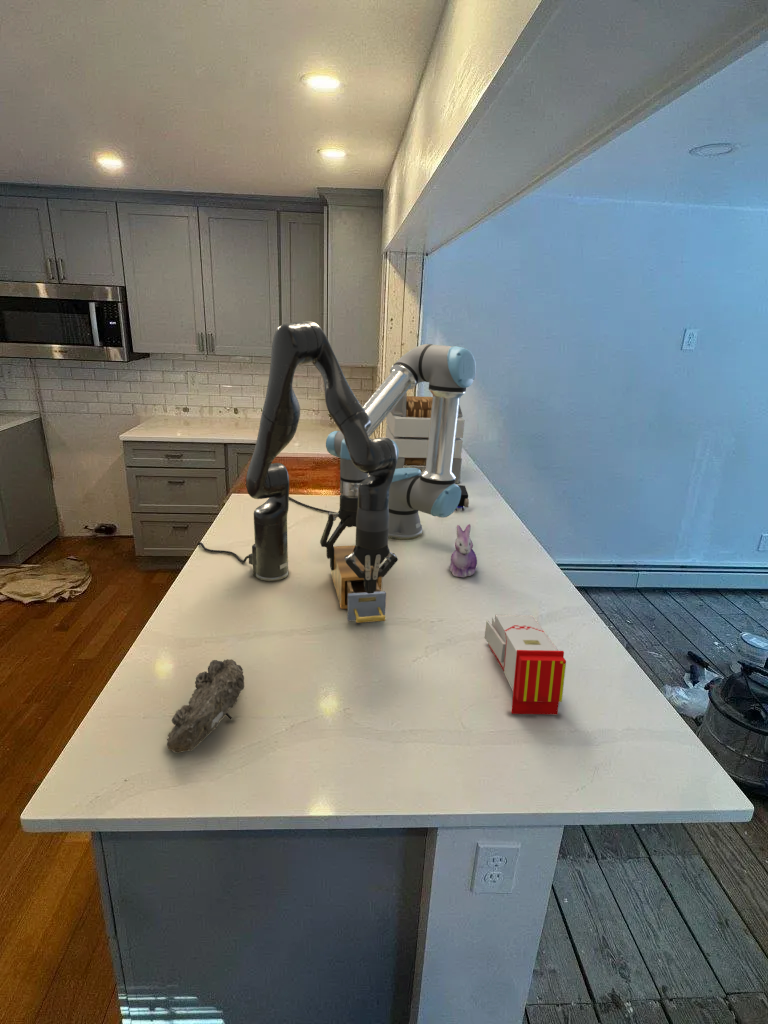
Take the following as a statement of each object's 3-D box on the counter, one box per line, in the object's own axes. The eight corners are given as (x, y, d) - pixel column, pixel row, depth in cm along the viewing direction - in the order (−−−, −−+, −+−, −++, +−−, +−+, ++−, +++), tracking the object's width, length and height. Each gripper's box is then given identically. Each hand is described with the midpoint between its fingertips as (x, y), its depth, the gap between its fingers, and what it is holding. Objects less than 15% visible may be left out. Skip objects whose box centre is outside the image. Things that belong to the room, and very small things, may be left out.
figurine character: (468, 516, 224) (463, 500, 237) (471, 498, 221) (465, 483, 234) (452, 515, 224) (447, 499, 237) (453, 498, 220) (449, 482, 234)
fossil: (192, 660, 117) (244, 628, 112) (224, 691, 120) (276, 661, 115) (142, 746, 98) (202, 712, 93) (182, 779, 101) (242, 748, 96)
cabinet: (380, 606, 151) (381, 575, 148) (340, 608, 149) (341, 577, 146) (366, 572, 170) (367, 544, 166) (331, 574, 167) (331, 546, 164)
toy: (530, 600, 137) (574, 657, 108) (525, 651, 140) (567, 720, 111) (480, 599, 137) (511, 656, 107) (477, 651, 139) (506, 719, 110)
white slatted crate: (382, 463, 289) (386, 382, 275) (445, 464, 293) (451, 384, 279) (390, 482, 257) (394, 392, 243) (460, 483, 261) (468, 394, 247)
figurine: (459, 581, 167) (464, 533, 161) (440, 567, 175) (444, 521, 170) (485, 575, 171) (490, 529, 166) (465, 562, 179) (470, 517, 174)
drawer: (389, 630, 138) (391, 604, 136) (351, 633, 136) (352, 606, 134) (370, 584, 161) (371, 561, 158) (337, 586, 159) (337, 562, 156)
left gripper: (346, 532, 125) (344, 601, 131) (404, 529, 128) (400, 597, 134) (341, 520, 132) (340, 586, 138) (396, 518, 135) (393, 583, 141)
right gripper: (312, 499, 150) (312, 575, 157) (397, 497, 155) (393, 570, 162) (309, 491, 157) (310, 563, 164) (391, 489, 162) (388, 559, 169)
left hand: (369, 591), depth 136 cm, fingers closed
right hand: (351, 567), depth 163 cm, fingers closed on cabinet, 11 cm apart
